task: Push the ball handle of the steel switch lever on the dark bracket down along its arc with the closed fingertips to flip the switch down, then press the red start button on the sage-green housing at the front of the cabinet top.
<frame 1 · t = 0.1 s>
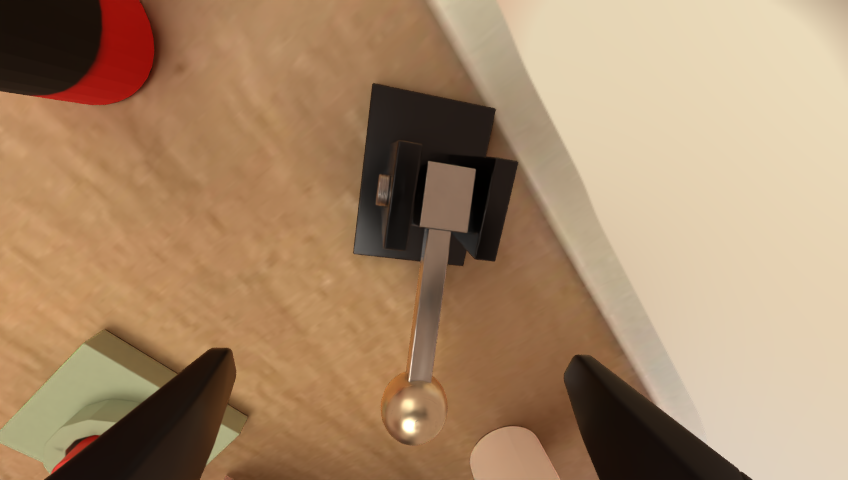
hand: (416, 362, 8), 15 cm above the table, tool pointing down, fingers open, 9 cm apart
lever: (427, 306, 15), point 9 cm above the table, hinge at 12.0°
start button: (95, 467, 21), point 4 cm above the table, slide at 0.1 cm
button housing: (139, 417, 24), on the table
cylindrical container: (504, 453, 31), on the table
switch bracket: (420, 181, 22), on the table
soda can: (85, 33, 18), on the table
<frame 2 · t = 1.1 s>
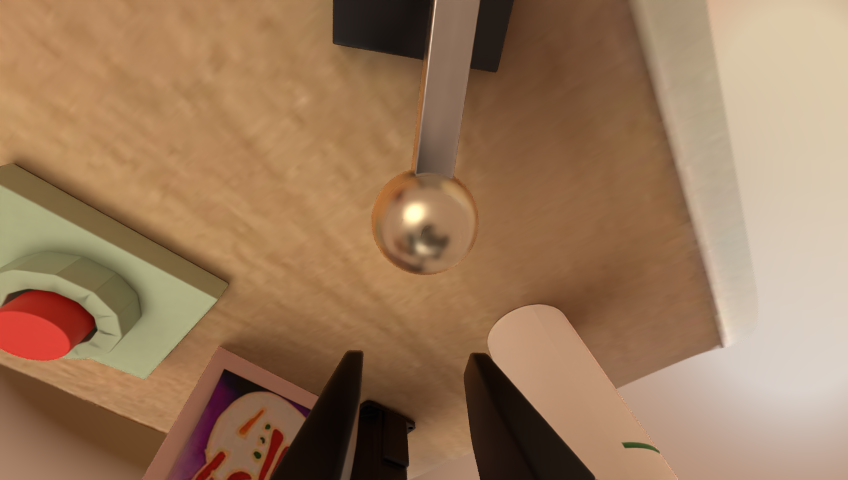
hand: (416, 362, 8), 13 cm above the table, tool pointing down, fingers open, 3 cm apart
greeting card: (261, 392, 28), on the table
lever: (449, 38, 8), point 9 cm above the table, hinge at 12.0°
start button: (43, 325, 17), point 4 cm above the table, slide at 0.1 cm
button housing: (99, 280, 21), on the table
cylindrical container: (526, 334, 28), on the table
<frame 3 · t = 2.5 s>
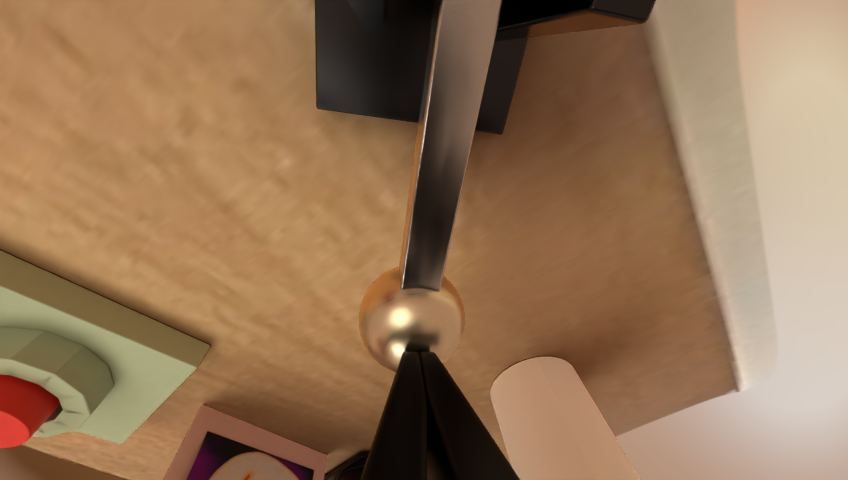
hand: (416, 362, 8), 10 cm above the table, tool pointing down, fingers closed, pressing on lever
greeting card: (250, 445, 26), on the table
lever: (439, 159, 7), point 8 cm above the table, hinge at 0.6°, touching gripper
start button: (0, 409, 15), point 4 cm above the table, slide at 0.1 cm
button housing: (69, 346, 19), on the table
cylindrical container: (531, 384, 26), on the table
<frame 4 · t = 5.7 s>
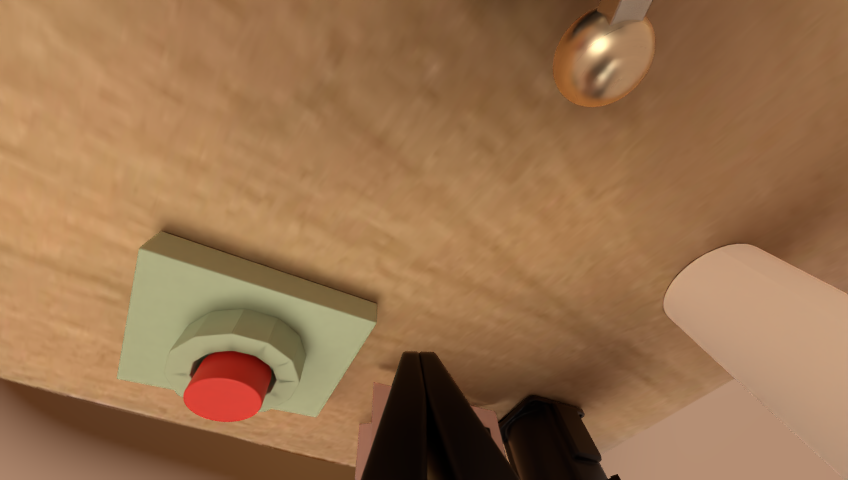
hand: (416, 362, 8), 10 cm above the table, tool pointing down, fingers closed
greeting card: (420, 411, 26), on the table, touching arm
start button: (230, 385, 17), point 4 cm above the table, slide at 0.1 cm
button housing: (256, 329, 20), on the table
cylindrical container: (710, 284, 23), on the table
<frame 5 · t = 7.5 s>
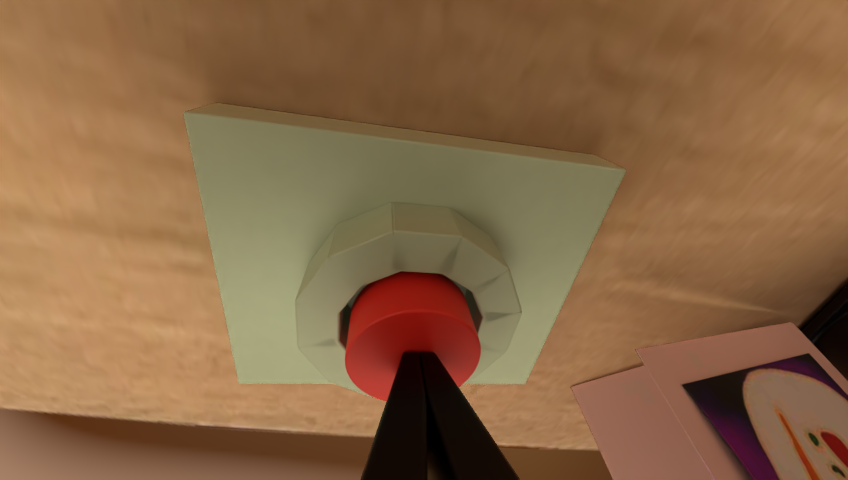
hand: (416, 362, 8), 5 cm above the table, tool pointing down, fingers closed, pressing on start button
greeting card: (667, 351, 16), on the table, touching arm
start button: (412, 336, 9), point 4 cm above the table, slide at -0.1 cm, touching gripper
button housing: (404, 263, 12), on the table
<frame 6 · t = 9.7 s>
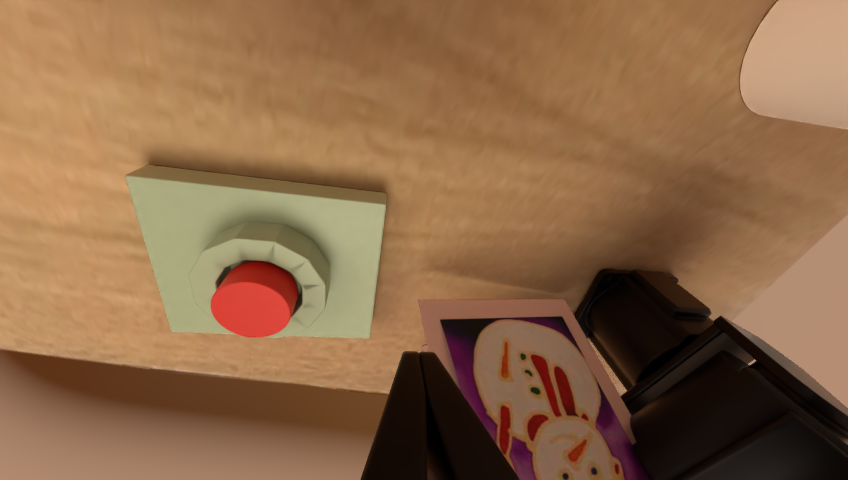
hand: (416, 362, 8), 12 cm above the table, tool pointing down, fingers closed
greeting card: (480, 318, 24), on the table, touching arm
start button: (257, 299, 16), point 4 cm above the table, slide at 0.1 cm
button housing: (279, 256, 19), on the table
cylindrical container: (805, 44, 17), on the table
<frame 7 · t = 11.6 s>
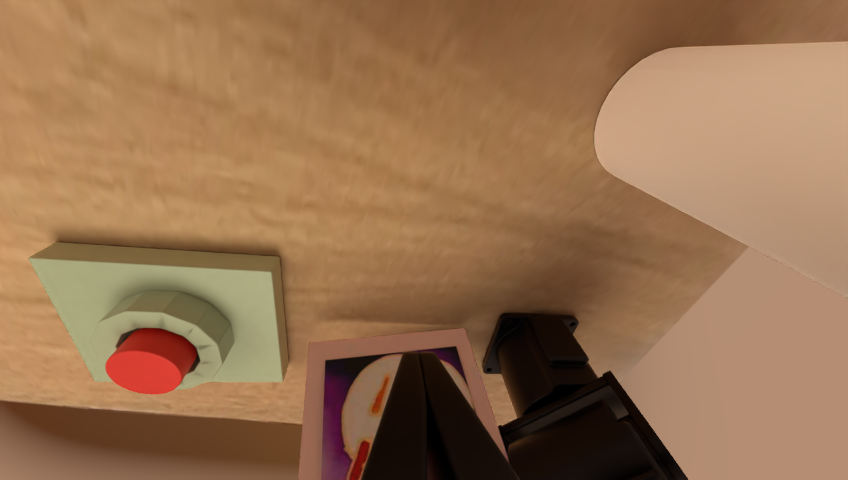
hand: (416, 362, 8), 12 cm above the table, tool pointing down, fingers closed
greeting card: (388, 352, 25), on the table, touching arm
start button: (154, 360, 18), point 4 cm above the table, slide at 0.1 cm
button housing: (191, 312, 21), on the table
cylindrical container: (652, 119, 18), on the table
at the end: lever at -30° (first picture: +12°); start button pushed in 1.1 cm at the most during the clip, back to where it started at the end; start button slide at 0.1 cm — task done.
